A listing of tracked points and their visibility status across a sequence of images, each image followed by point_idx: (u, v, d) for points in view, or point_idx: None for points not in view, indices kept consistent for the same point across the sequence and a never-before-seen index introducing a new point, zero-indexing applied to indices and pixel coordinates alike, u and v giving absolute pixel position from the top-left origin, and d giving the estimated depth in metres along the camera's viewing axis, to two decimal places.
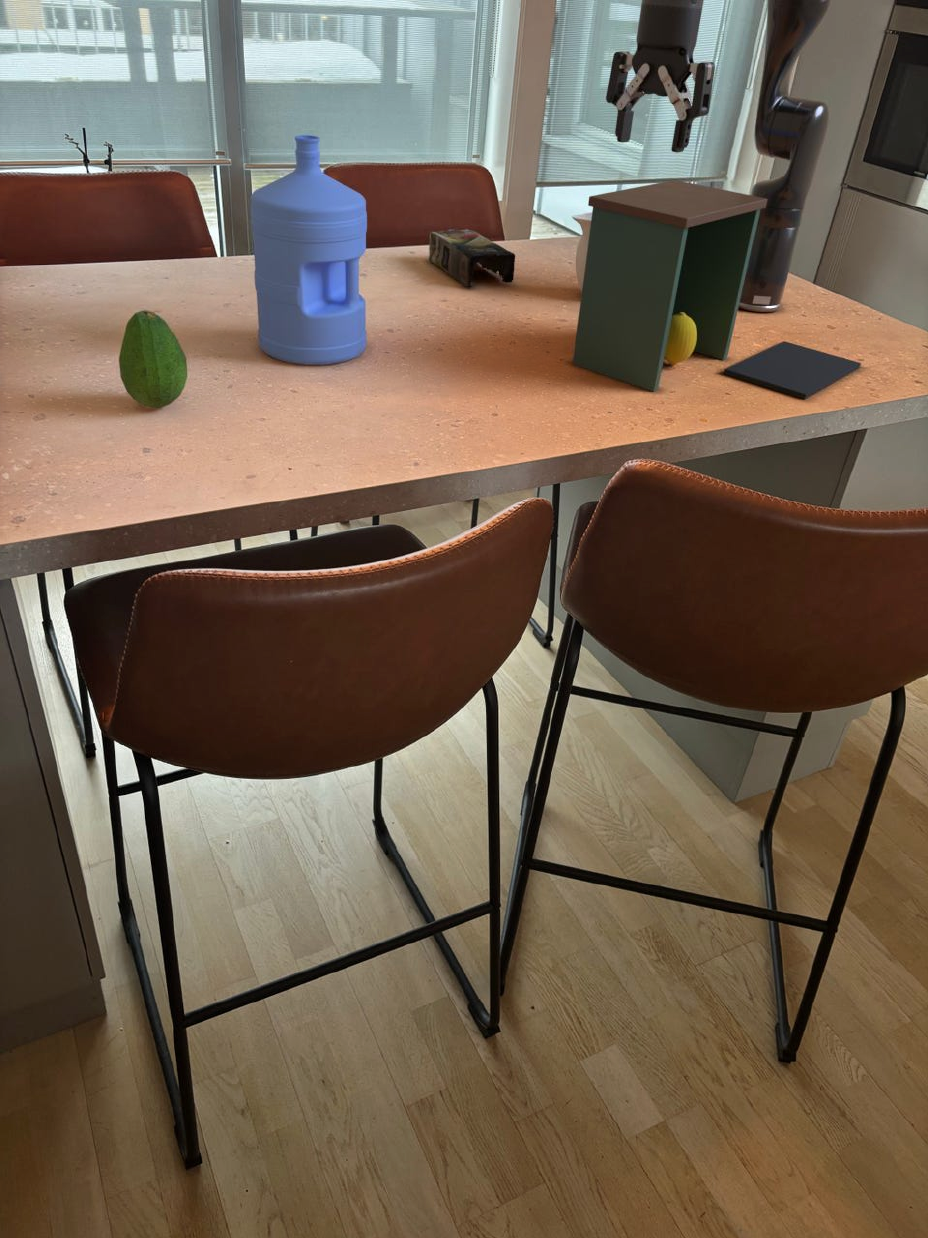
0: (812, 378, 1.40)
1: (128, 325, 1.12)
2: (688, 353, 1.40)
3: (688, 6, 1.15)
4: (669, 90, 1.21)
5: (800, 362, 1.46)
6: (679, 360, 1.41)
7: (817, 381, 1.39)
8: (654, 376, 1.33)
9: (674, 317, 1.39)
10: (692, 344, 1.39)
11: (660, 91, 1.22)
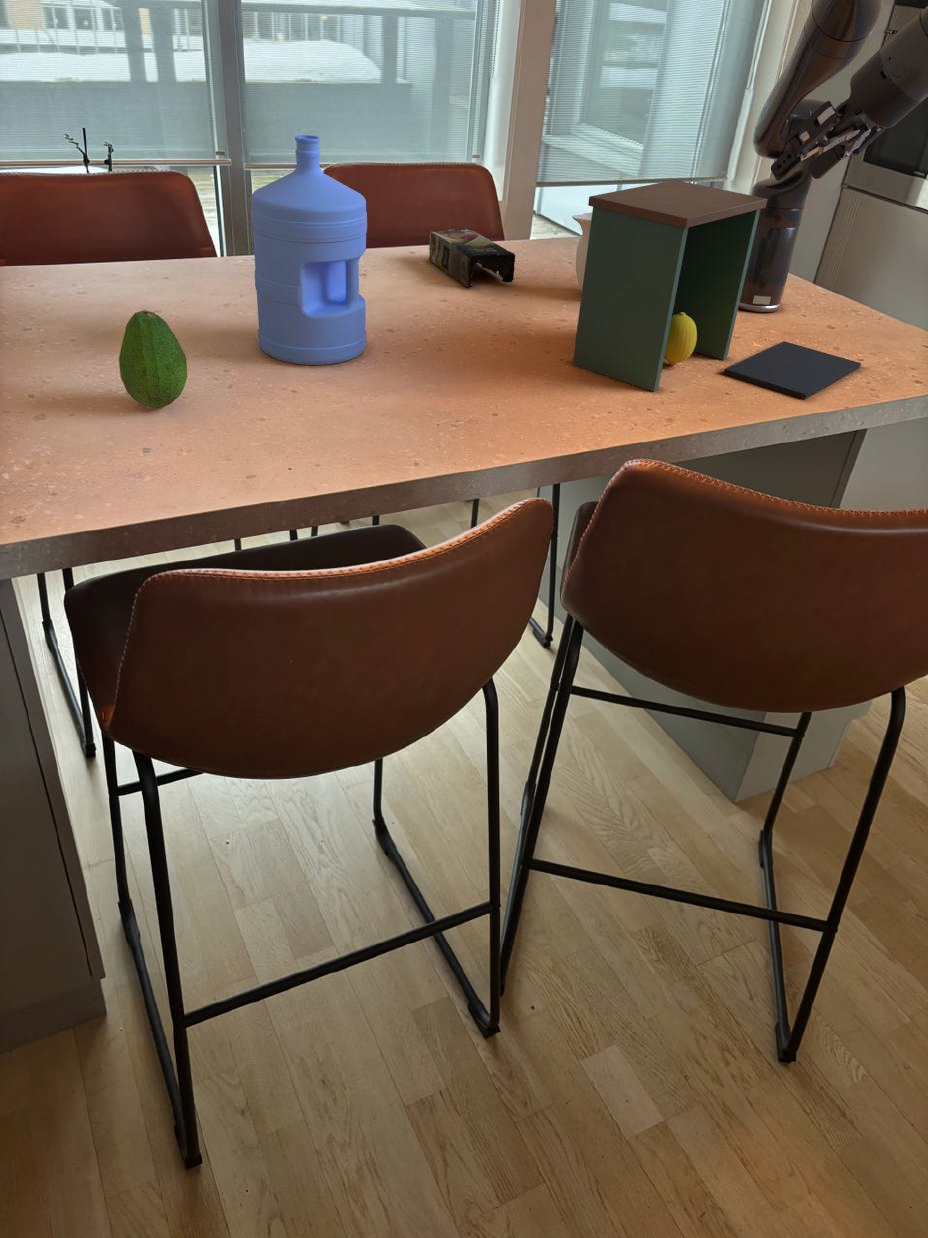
0: (812, 378, 1.40)
1: (128, 325, 1.12)
2: (688, 353, 1.40)
3: None
4: (856, 144, 1.15)
5: (800, 362, 1.46)
6: (679, 360, 1.41)
7: (817, 381, 1.39)
8: (654, 376, 1.33)
9: (674, 317, 1.39)
10: (692, 344, 1.39)
11: (844, 142, 1.15)
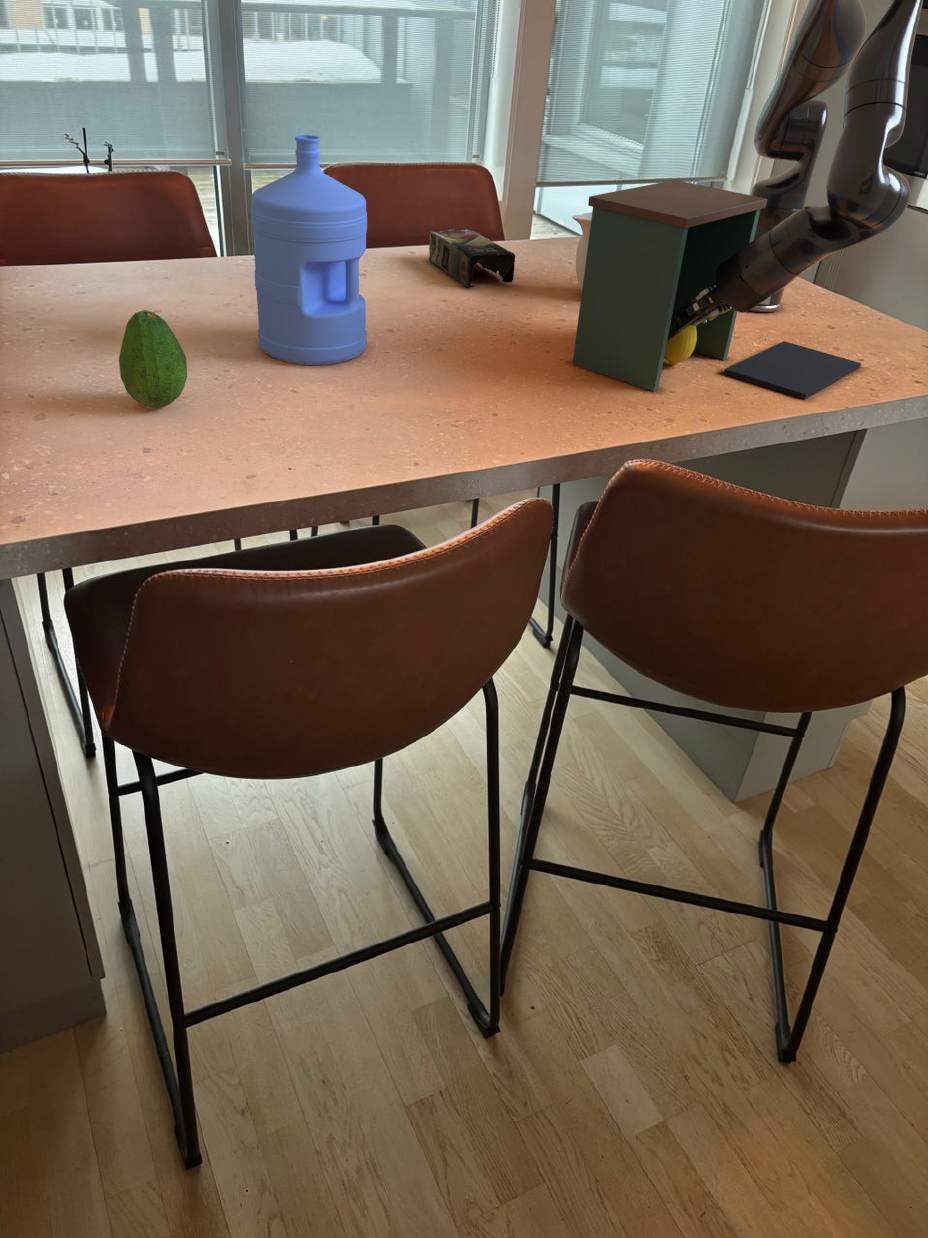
0: (812, 378, 1.40)
1: (128, 325, 1.12)
2: (688, 353, 1.40)
3: None
4: (720, 314, 1.38)
5: (800, 362, 1.46)
6: (679, 360, 1.41)
7: (817, 381, 1.39)
8: (654, 376, 1.33)
9: None
10: (692, 344, 1.39)
11: None
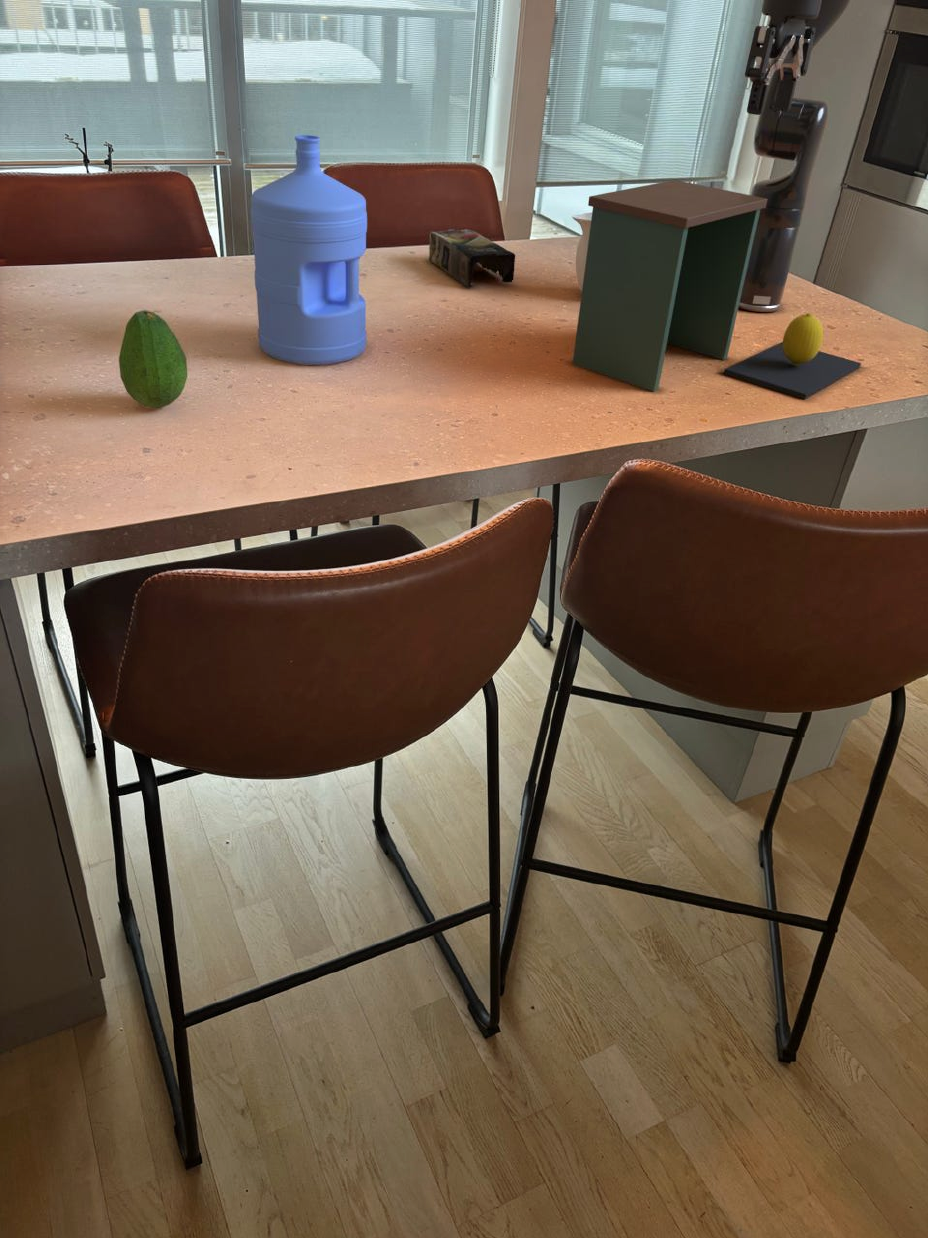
0: (812, 378, 1.40)
1: (128, 325, 1.12)
2: (814, 354, 1.41)
3: None
4: (799, 56, 1.32)
5: None
6: (804, 361, 1.42)
7: (817, 381, 1.39)
8: (654, 376, 1.33)
9: (801, 318, 1.40)
10: (818, 344, 1.40)
11: (790, 59, 1.32)
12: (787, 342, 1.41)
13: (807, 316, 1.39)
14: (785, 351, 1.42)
